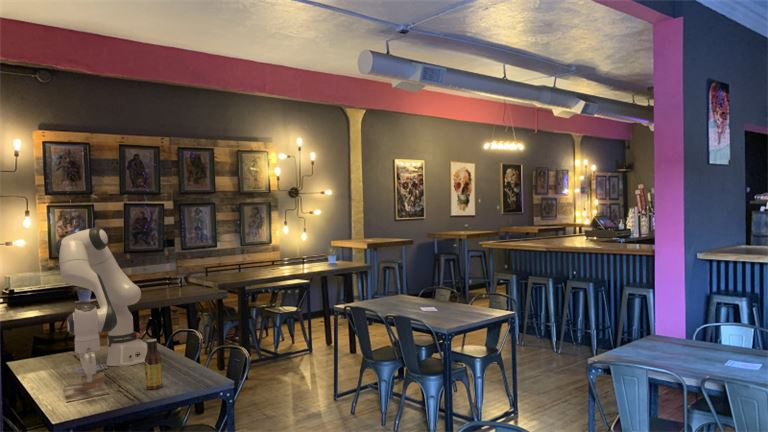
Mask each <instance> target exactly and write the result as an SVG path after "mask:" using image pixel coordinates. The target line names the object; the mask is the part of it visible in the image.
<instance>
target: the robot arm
mask: <svg viewBox="0 0 768 432" xmlns="http://www.w3.org/2000/svg"><path fill="white" fill-rule="evenodd" d="M108 244H109V237H108V235H107V233H106V230H104V229H103V228H102V227H99V226H97V227H95V226H94V227H91V228H88V229H87V228H86V229H83V230H79V231H76V232H75V233H71V234H69V235H67V236H64V237H61V238H60V239H58V240H56V242H55V244H54V251H55V254H56V256H57V257H58V259H59V262H58V263H59V270H60V271H59V272H60V275H61V277H62V280H63V281H65V282H66V283H68V284H69V285H71V286H74V287H79V288H80V287H81V288H85V289H87V290H90V291H92V292H93V293H94V295H95V298H96V301H97V303H98V306H99V308H97V306H96V305H94V304H80V305H78V306H76V307H75V309H74V311H73V312H72V313H70V314H69V315H68V316H67V317H66V323H67V325H66V326H67V327H66V332H68V333H69V334H70V335H73V336H74V352H75V353H76V354H78V356H79V361H80V365H81V367H82V368H83V371H84V373H85V374H84V375H87V382H92V375H93V374H96V373H97V361H96V360H97V359H96V355H97V351H99V350H100V349H101V347H100V346H101V342H100V334H99V333H107V335H106V336H107V338H106V339H107V340H106V341H107V342H106V343H107V347H108V349H107V350H108V351H107V360H106V364H105V365H106V366H109V367H124V366H126V367H129V366H133V365H137V364H141V363H145V357H146V354H147V342H145V341H143V340H142V339H139V338H140V337H141V333H139V332H137V331H134V317H133V315H132V314H133V313H131V311H130V310H129V308H128V306H131V305H135V304H137V303H138V302H139V301H140V299H141V297H142V292H141V289H140V287H139V286H138V285H137V284H135V283H134V282H133V281H131V279H130V278H129V277H128V276H127V275H126V273H124V271H123V270H122V268H120V266H119V264H118V262H117V261H116V258H115V256H114V255H113V253H112V251H111V250H110V248H109V247H108Z"/></svg>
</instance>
